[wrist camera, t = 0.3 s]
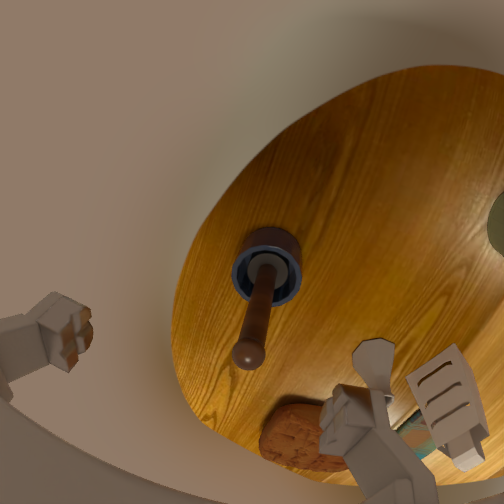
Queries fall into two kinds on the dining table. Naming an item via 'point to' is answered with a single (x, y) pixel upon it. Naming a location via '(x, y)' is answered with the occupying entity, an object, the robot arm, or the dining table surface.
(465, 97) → the dining table surface
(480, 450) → the grater
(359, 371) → the flask
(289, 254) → the holder
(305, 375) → the dining table surface
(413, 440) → the dish towel
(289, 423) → the cuneiform tablet
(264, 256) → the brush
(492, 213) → the jar
